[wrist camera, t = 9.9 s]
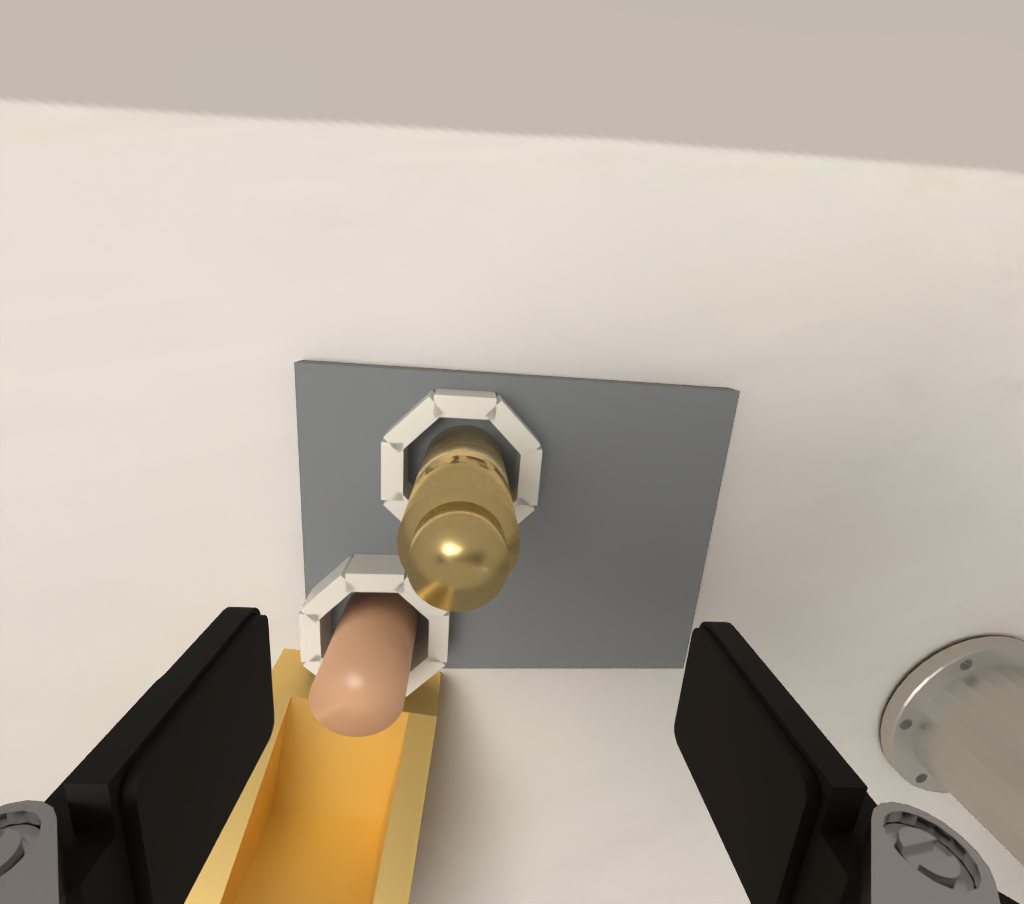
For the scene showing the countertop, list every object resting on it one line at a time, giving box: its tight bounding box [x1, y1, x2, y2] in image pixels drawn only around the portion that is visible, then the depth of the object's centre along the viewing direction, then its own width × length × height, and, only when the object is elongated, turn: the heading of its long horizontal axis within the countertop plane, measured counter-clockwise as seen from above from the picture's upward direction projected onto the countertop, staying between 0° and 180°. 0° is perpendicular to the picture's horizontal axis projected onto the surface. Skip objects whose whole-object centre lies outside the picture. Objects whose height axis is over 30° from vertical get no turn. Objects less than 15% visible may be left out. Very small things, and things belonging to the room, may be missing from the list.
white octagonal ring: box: [381, 388, 542, 524], centre depth 23 cm, size 7×7×2 cm
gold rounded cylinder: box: [397, 425, 520, 612], centre depth 19 cm, size 4×4×10 cm
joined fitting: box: [298, 554, 450, 737], centre depth 23 cm, size 7×7×6 cm
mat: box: [294, 360, 740, 668], centre depth 26 cm, size 22×17×1 cm
